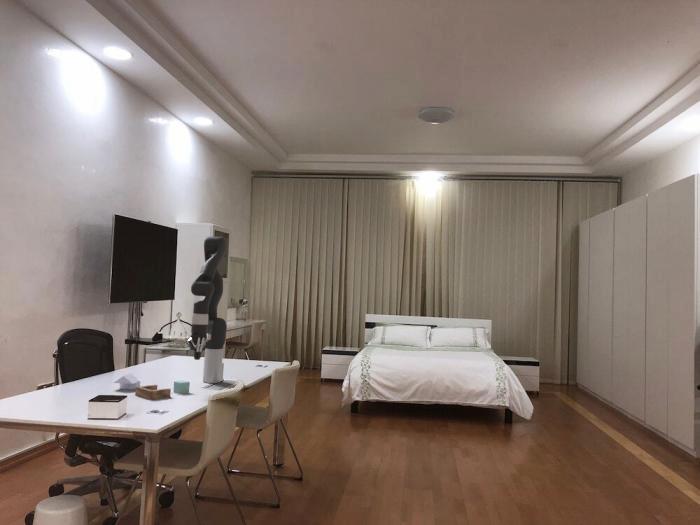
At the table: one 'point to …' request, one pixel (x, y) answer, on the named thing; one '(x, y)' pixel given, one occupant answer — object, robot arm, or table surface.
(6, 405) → the table surface
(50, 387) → the table surface
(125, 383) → the white toy house
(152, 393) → the walnut bay
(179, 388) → the teal block
